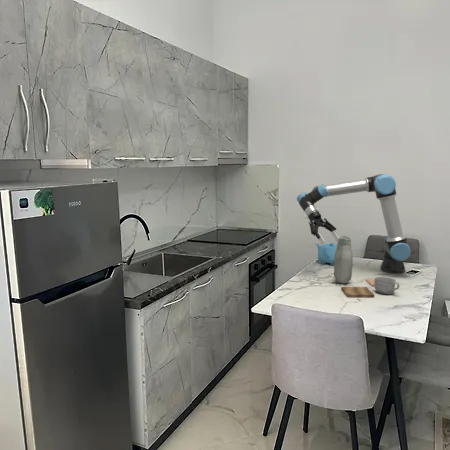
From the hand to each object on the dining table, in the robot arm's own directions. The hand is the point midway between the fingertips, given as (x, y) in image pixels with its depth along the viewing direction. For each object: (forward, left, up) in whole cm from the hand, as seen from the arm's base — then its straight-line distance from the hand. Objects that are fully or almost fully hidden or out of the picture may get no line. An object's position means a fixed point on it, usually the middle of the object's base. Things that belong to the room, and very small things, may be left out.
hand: (330, 241), depth 248 cm
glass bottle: (-6, +8, -24) cm, 26 cm away
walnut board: (-9, +28, -24) cm, 37 cm away
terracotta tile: (-27, +9, -24) cm, 37 cm away
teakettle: (-9, -42, -24) cm, 49 cm away
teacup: (-25, +27, -24) cm, 44 cm away
